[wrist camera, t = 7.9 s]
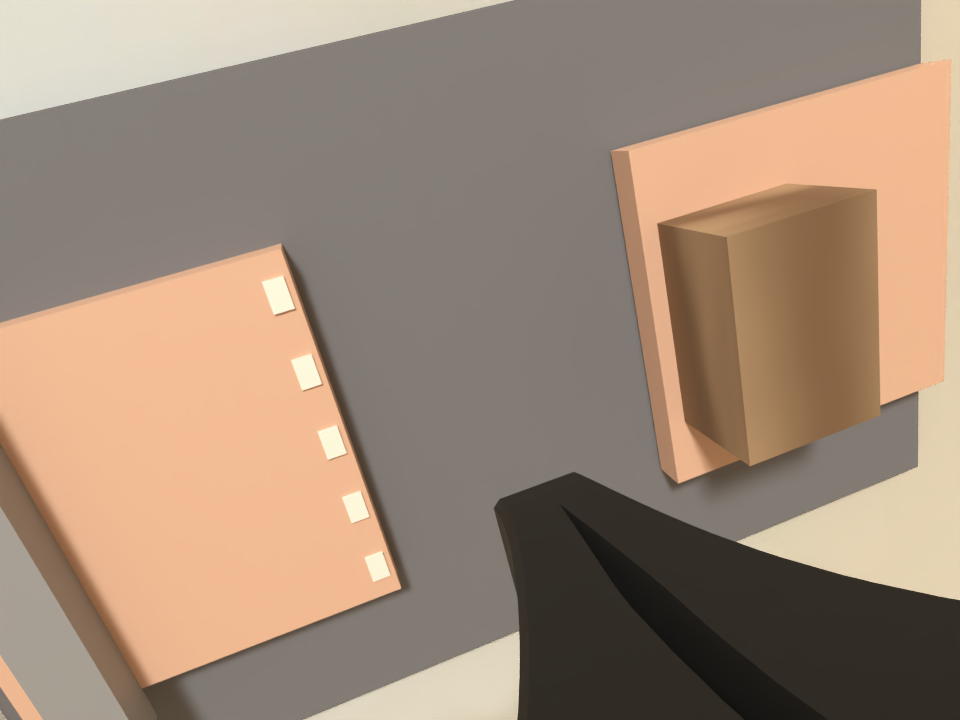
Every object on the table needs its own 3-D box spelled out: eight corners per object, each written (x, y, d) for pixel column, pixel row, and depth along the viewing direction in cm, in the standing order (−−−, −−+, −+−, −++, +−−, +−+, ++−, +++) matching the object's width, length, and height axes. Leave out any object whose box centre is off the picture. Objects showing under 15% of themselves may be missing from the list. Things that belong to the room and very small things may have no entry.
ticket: (61, 727, 18) (32, 799, 16) (-201, 328, 14) (-285, 360, 12) (405, 594, 20) (418, 644, 18) (267, 202, 16) (263, 210, 14)
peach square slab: (661, 468, 21) (740, 536, 17) (610, 150, 17) (696, 150, 14) (917, 371, 23) (1039, 414, 19) (919, 63, 19) (1068, 43, 15)
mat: (78, 795, 20) (72, 813, 19) (-326, 199, 13) (-353, 201, 13) (903, 459, 25) (917, 466, 24) (902, -87, 18) (921, -95, 18)
